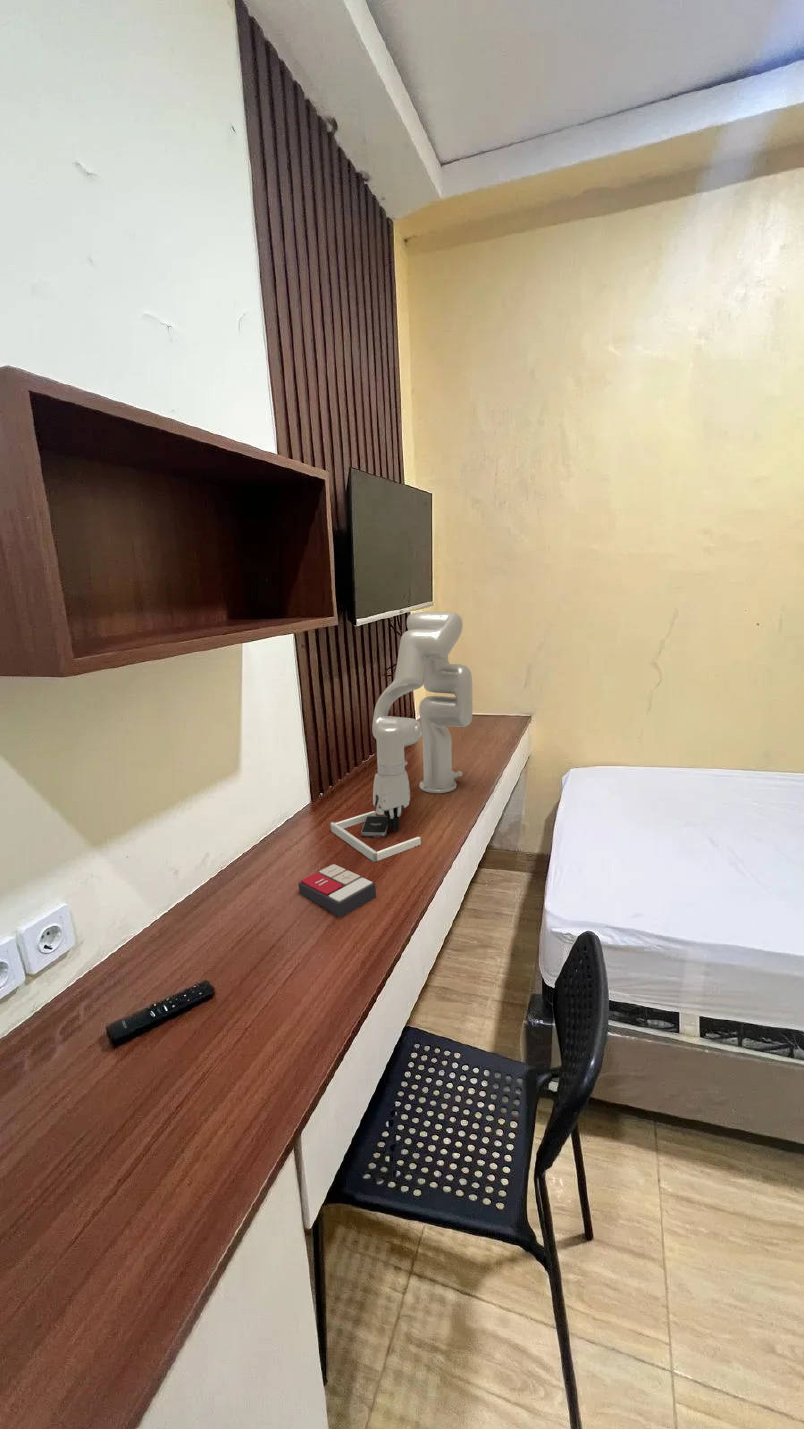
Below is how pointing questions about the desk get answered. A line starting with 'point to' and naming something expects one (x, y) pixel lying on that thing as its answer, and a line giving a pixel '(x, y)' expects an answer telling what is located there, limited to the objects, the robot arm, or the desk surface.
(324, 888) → the button keypad
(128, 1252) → the desk surface
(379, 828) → the external hard drive
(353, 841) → the white u-shaped frame
